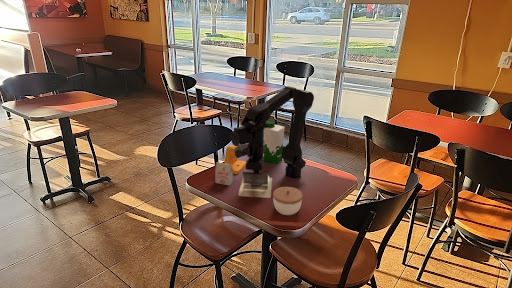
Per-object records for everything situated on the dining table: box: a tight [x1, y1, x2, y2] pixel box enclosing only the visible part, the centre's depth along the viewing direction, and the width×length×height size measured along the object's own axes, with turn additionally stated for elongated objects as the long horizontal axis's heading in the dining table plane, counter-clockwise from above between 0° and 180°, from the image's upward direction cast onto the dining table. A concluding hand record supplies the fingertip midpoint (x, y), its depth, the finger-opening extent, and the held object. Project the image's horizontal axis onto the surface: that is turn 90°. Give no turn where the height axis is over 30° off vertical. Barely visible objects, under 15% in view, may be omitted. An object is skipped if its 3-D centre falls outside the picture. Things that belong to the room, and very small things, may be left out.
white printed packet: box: [214, 161, 234, 186], centre depth 139 cm, size 4×7×10 cm, turn 70°
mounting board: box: [237, 177, 273, 199], centre depth 138 cm, size 13×17×1 cm
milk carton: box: [263, 120, 285, 164], centre depth 159 cm, size 9×9×20 cm
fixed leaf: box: [244, 175, 270, 187], centre depth 140 cm, size 10×10×2 cm
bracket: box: [224, 144, 246, 175], centre depth 151 cm, size 11×7×12 cm, turn 160°
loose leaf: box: [242, 171, 269, 186], centre depth 134 cm, size 10×10×2 cm
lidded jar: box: [272, 186, 303, 216], centre depth 120 cm, size 11×11×9 cm
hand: (255, 175), depth 132 cm, fingers closed
